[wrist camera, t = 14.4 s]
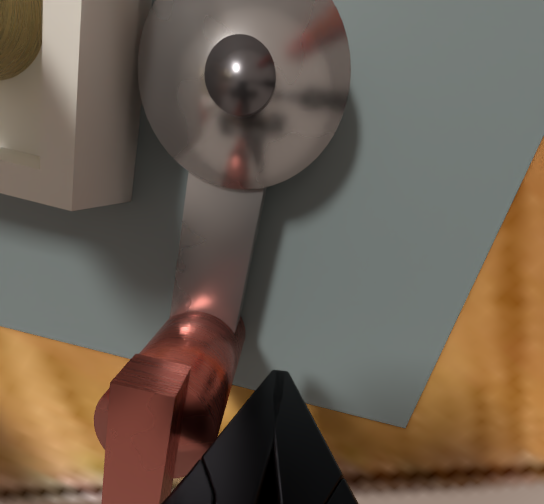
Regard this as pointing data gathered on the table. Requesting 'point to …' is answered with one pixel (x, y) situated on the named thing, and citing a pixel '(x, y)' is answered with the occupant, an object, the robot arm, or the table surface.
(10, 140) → the tray
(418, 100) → the board
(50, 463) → the table surface
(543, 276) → the table surface
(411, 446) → the table surface
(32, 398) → the table surface
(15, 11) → the pin
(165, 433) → the crank
